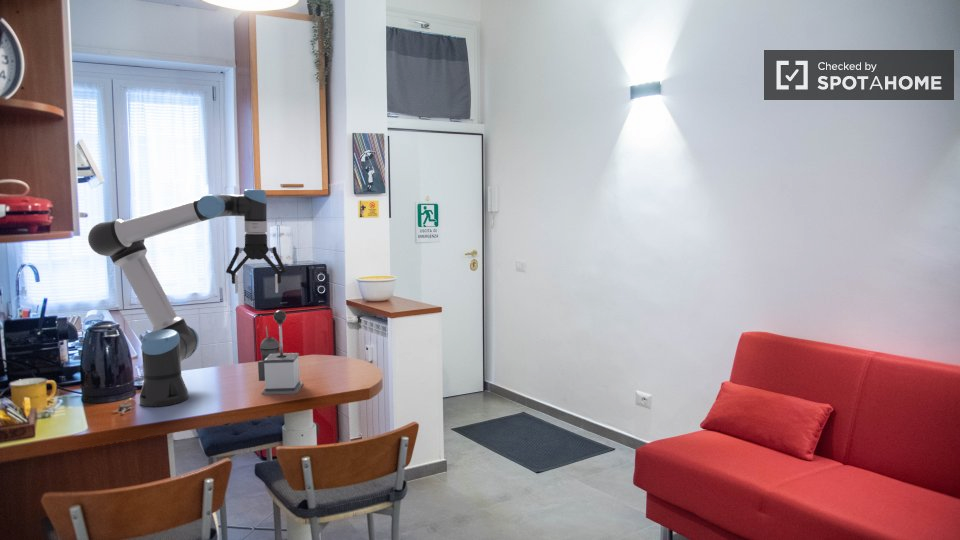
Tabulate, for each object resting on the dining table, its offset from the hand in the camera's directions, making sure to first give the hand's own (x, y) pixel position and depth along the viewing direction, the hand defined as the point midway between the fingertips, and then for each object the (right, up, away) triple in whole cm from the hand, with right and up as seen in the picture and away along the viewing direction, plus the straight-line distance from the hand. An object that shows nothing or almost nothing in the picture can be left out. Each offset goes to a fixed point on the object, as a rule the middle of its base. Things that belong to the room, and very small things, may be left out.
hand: (256, 292), depth 244 cm
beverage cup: (0, -33, +17) cm, 38 cm away
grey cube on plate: (+8, -35, +1) cm, 36 cm away
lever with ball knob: (+9, -26, 0) cm, 27 cm away
